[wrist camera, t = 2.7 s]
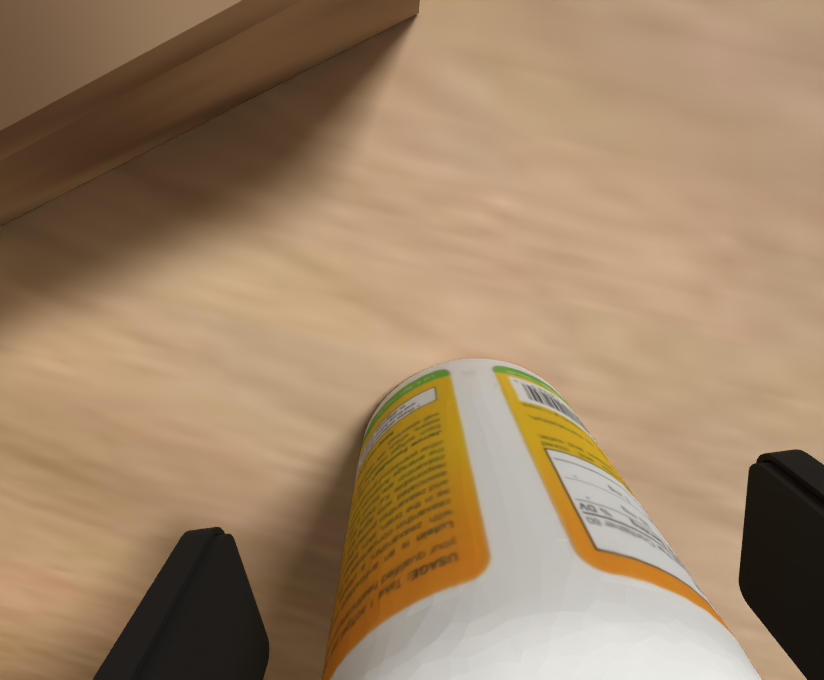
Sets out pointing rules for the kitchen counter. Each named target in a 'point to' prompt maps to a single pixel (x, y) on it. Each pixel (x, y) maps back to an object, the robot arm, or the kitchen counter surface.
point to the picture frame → (147, 75)
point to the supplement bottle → (508, 548)
